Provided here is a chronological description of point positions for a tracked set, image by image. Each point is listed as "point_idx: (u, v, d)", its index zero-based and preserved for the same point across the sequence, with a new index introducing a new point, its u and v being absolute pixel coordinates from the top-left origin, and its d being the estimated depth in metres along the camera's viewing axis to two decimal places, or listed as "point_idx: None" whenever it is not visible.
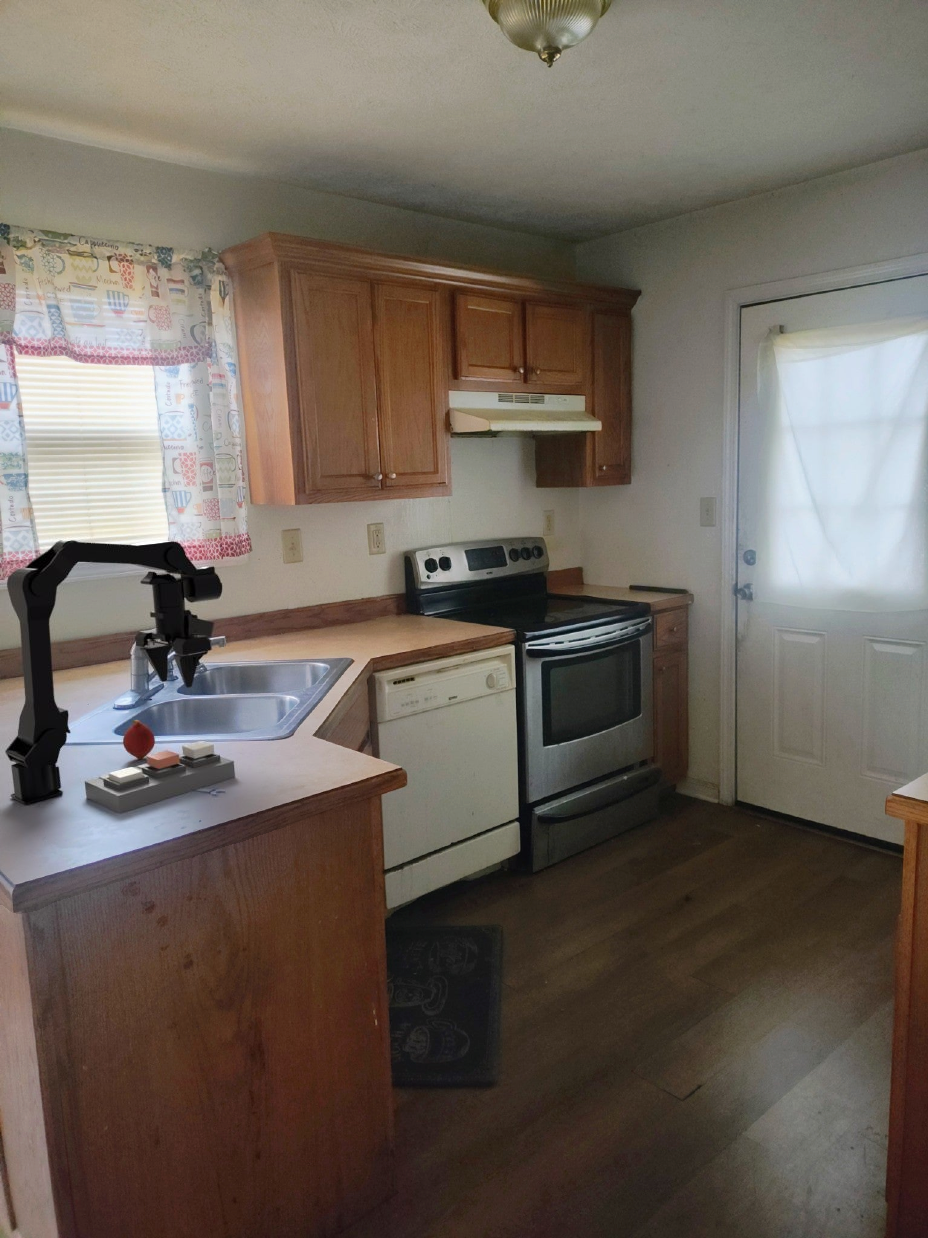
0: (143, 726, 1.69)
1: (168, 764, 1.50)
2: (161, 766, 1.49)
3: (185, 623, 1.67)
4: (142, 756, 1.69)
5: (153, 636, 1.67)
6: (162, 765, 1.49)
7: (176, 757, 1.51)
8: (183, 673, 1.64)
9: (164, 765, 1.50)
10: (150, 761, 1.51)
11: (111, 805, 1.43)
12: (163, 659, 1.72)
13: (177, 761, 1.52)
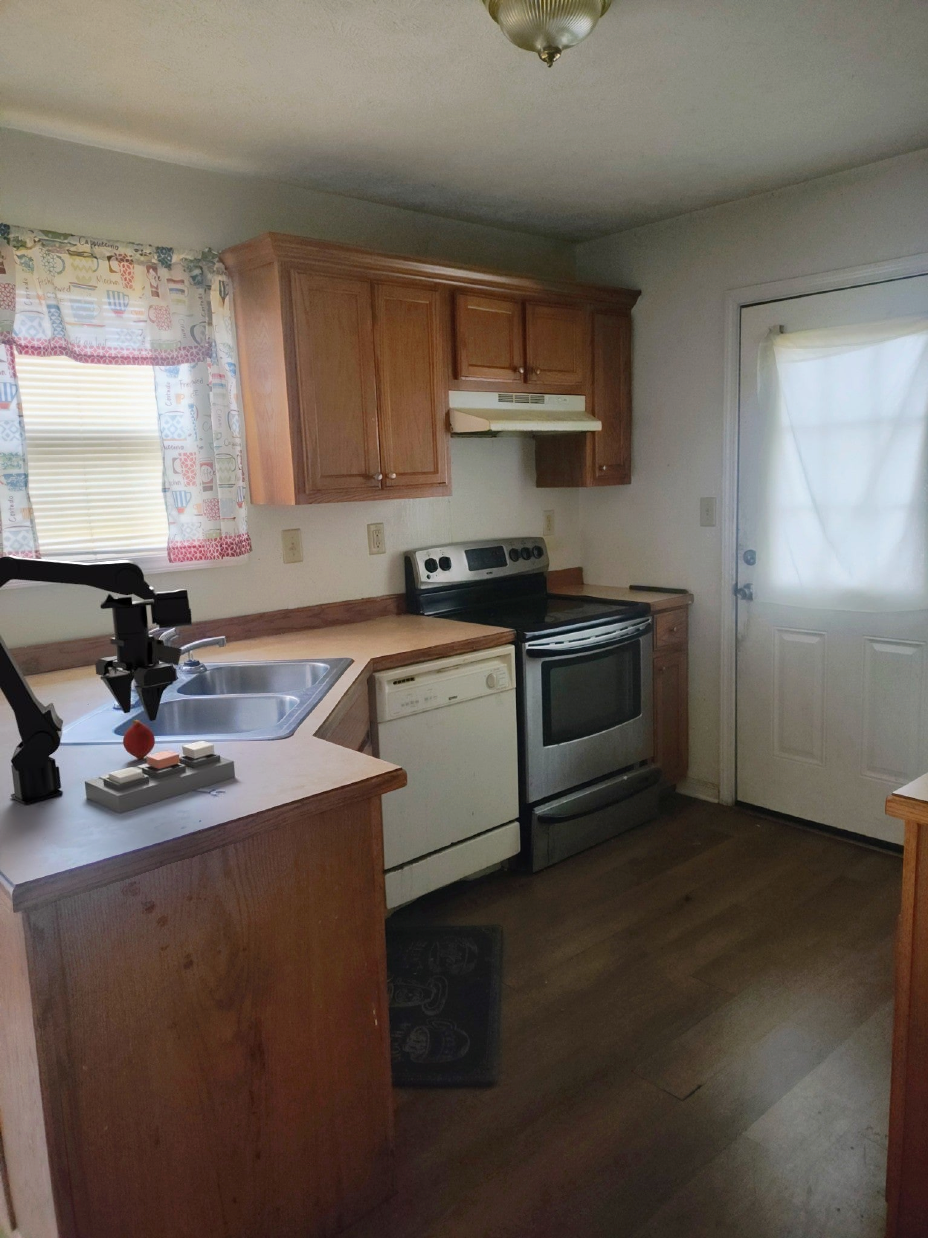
0: (143, 726, 1.69)
1: (168, 764, 1.50)
2: (161, 766, 1.49)
3: (149, 650, 1.53)
4: (142, 756, 1.69)
5: (113, 665, 1.53)
6: (162, 765, 1.49)
7: (176, 757, 1.51)
8: (146, 705, 1.50)
9: (164, 765, 1.50)
10: (150, 761, 1.51)
11: (111, 805, 1.43)
12: (126, 689, 1.58)
13: (177, 761, 1.52)
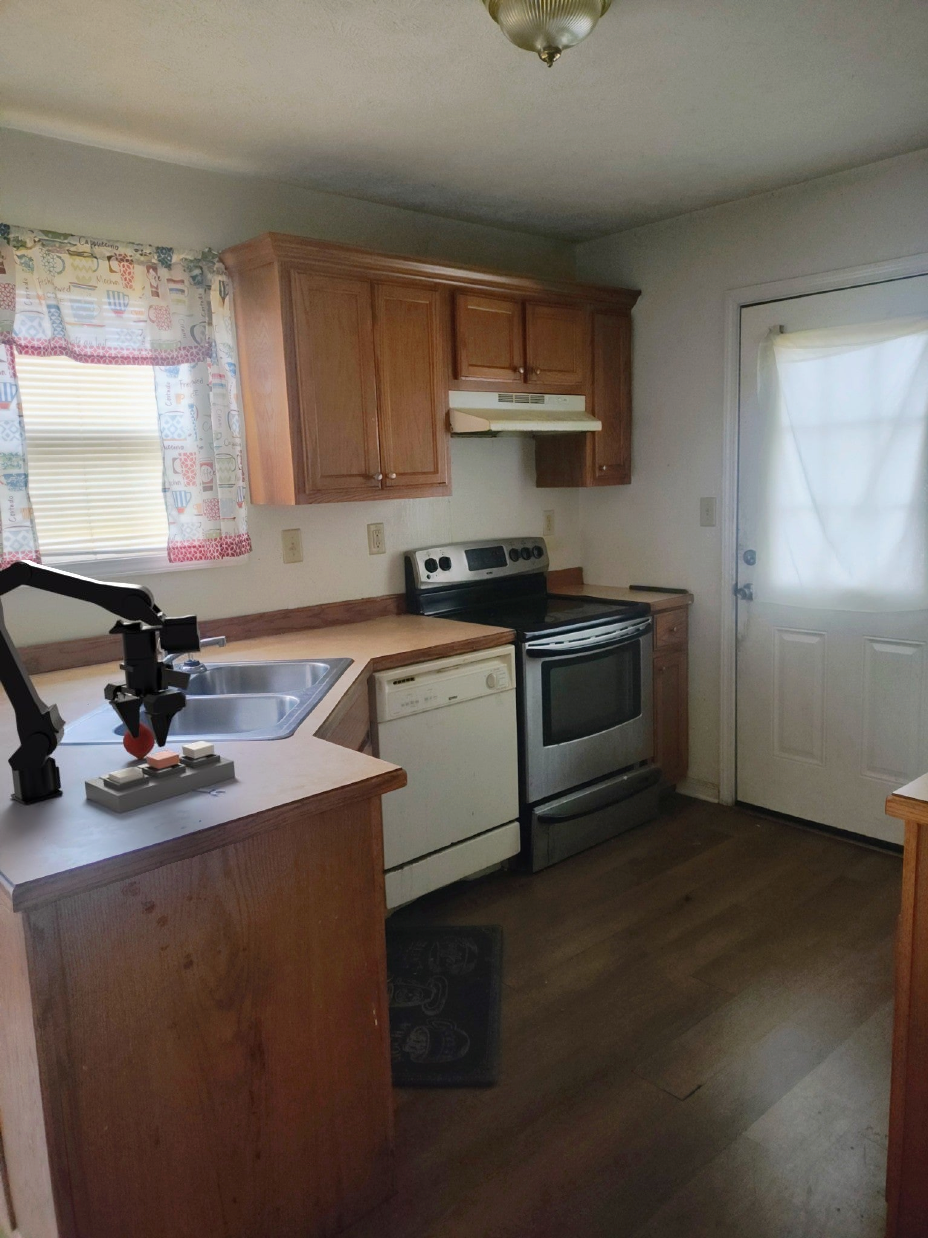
0: (143, 726, 1.69)
1: (168, 764, 1.50)
2: (161, 766, 1.49)
3: (158, 676, 1.52)
4: (142, 756, 1.69)
5: (122, 690, 1.52)
6: (162, 765, 1.49)
7: (176, 757, 1.51)
8: (155, 732, 1.49)
9: (164, 765, 1.50)
10: (150, 761, 1.51)
11: (111, 805, 1.43)
12: (135, 713, 1.57)
13: (177, 761, 1.52)
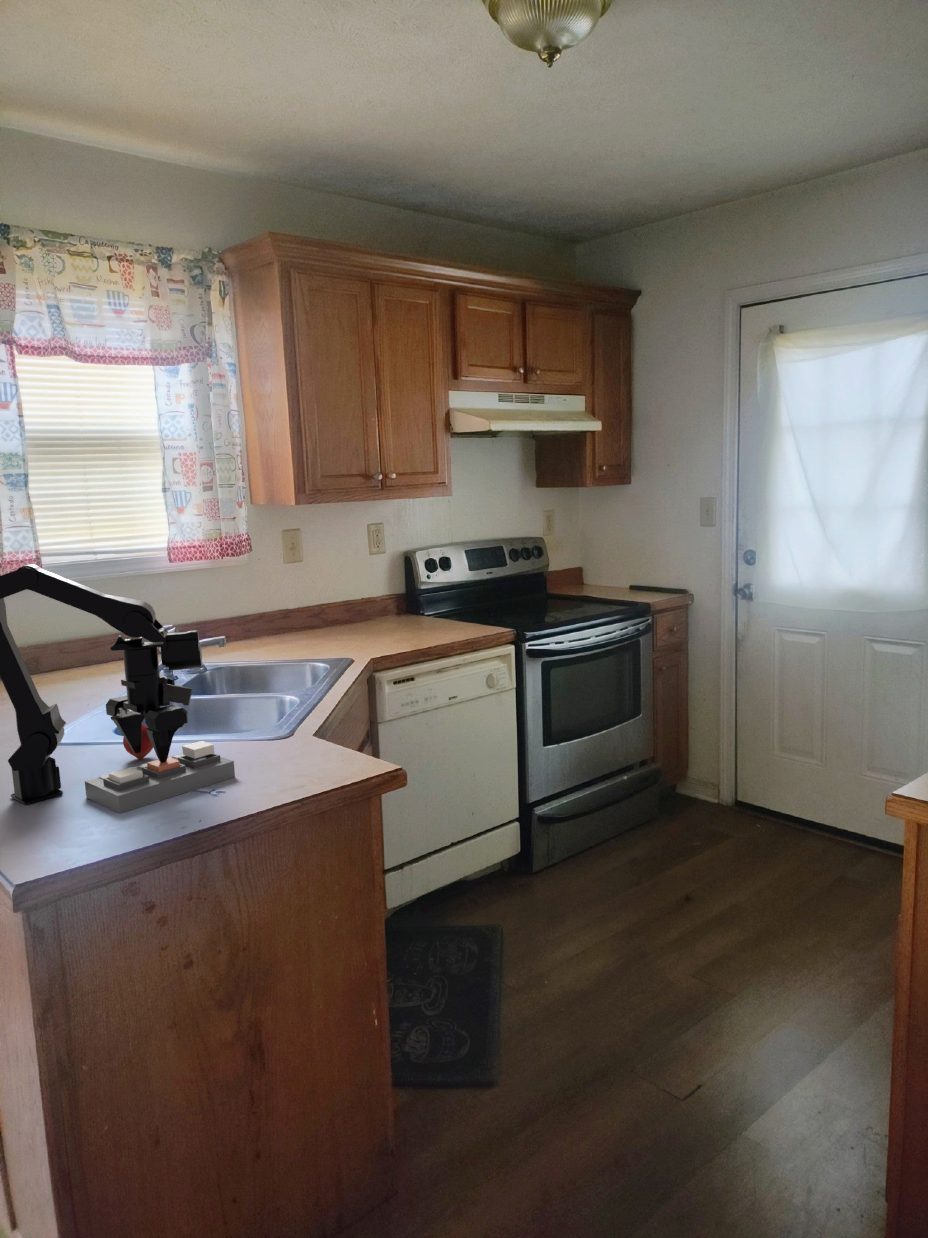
0: (143, 726, 1.69)
1: None
2: None
3: (159, 692, 1.53)
4: (142, 756, 1.69)
5: (124, 706, 1.52)
6: None
7: (176, 764, 1.51)
8: (157, 748, 1.49)
9: None
10: (151, 768, 1.51)
11: (111, 805, 1.43)
12: (136, 729, 1.57)
13: None
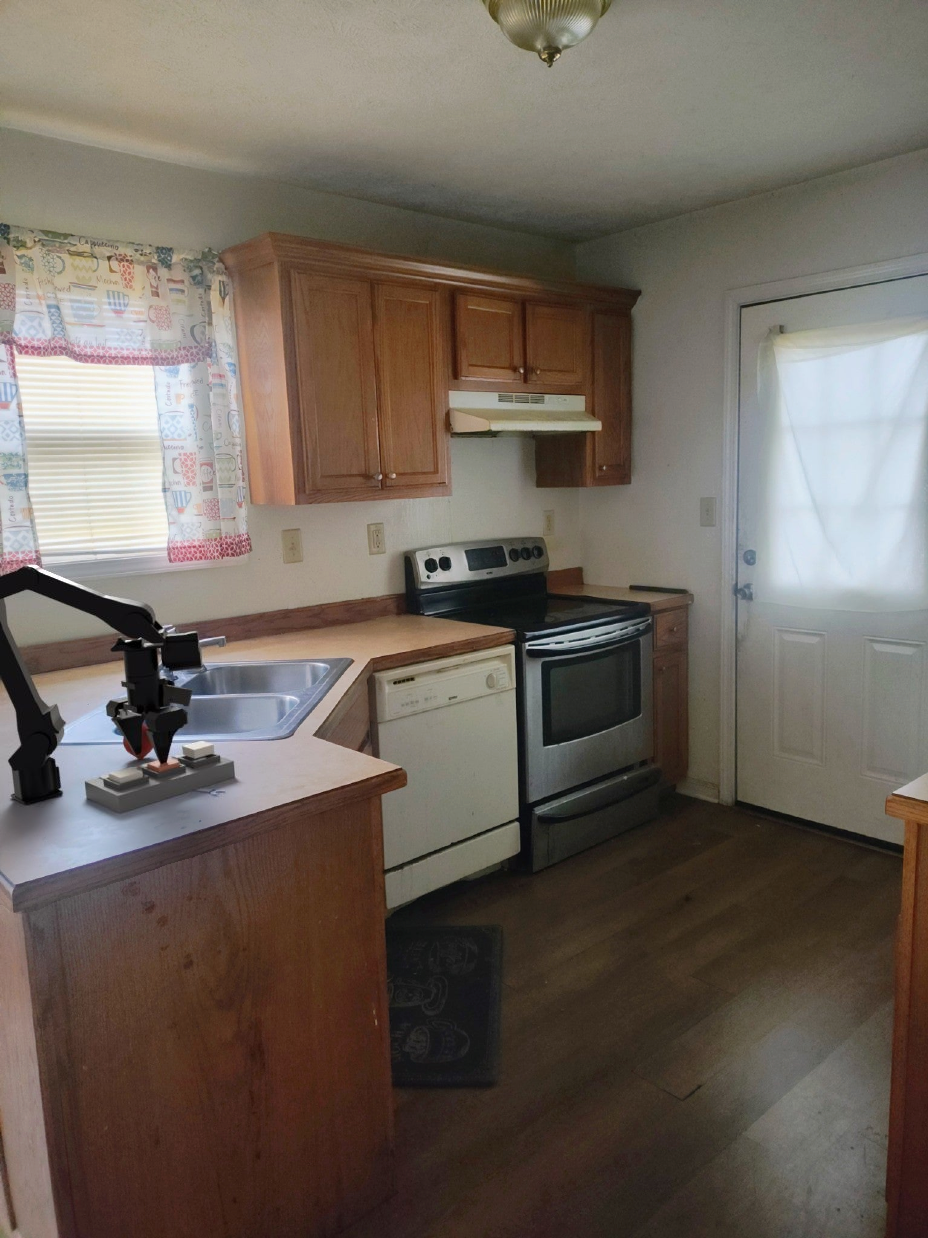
0: (143, 726, 1.69)
1: None
2: None
3: (160, 693, 1.53)
4: (142, 756, 1.69)
5: (124, 708, 1.52)
6: None
7: (176, 765, 1.51)
8: (157, 749, 1.49)
9: None
10: (151, 768, 1.51)
11: (111, 805, 1.43)
12: (137, 730, 1.57)
13: None
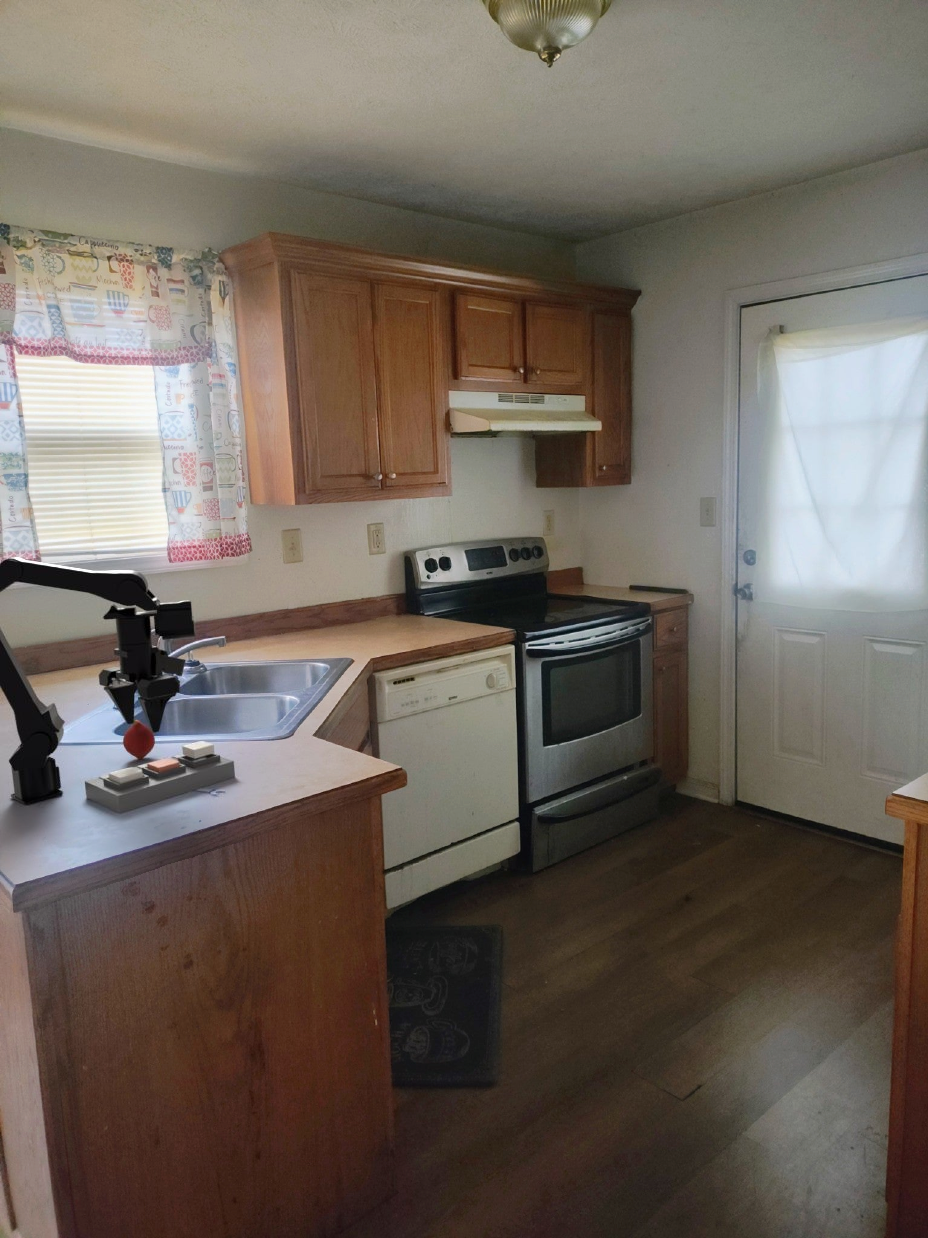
0: (143, 726, 1.69)
1: None
2: None
3: (152, 661, 1.52)
4: (142, 756, 1.69)
5: (117, 676, 1.52)
6: None
7: (176, 765, 1.51)
8: (149, 717, 1.49)
9: None
10: (151, 768, 1.51)
11: (111, 805, 1.43)
12: (129, 699, 1.57)
13: None
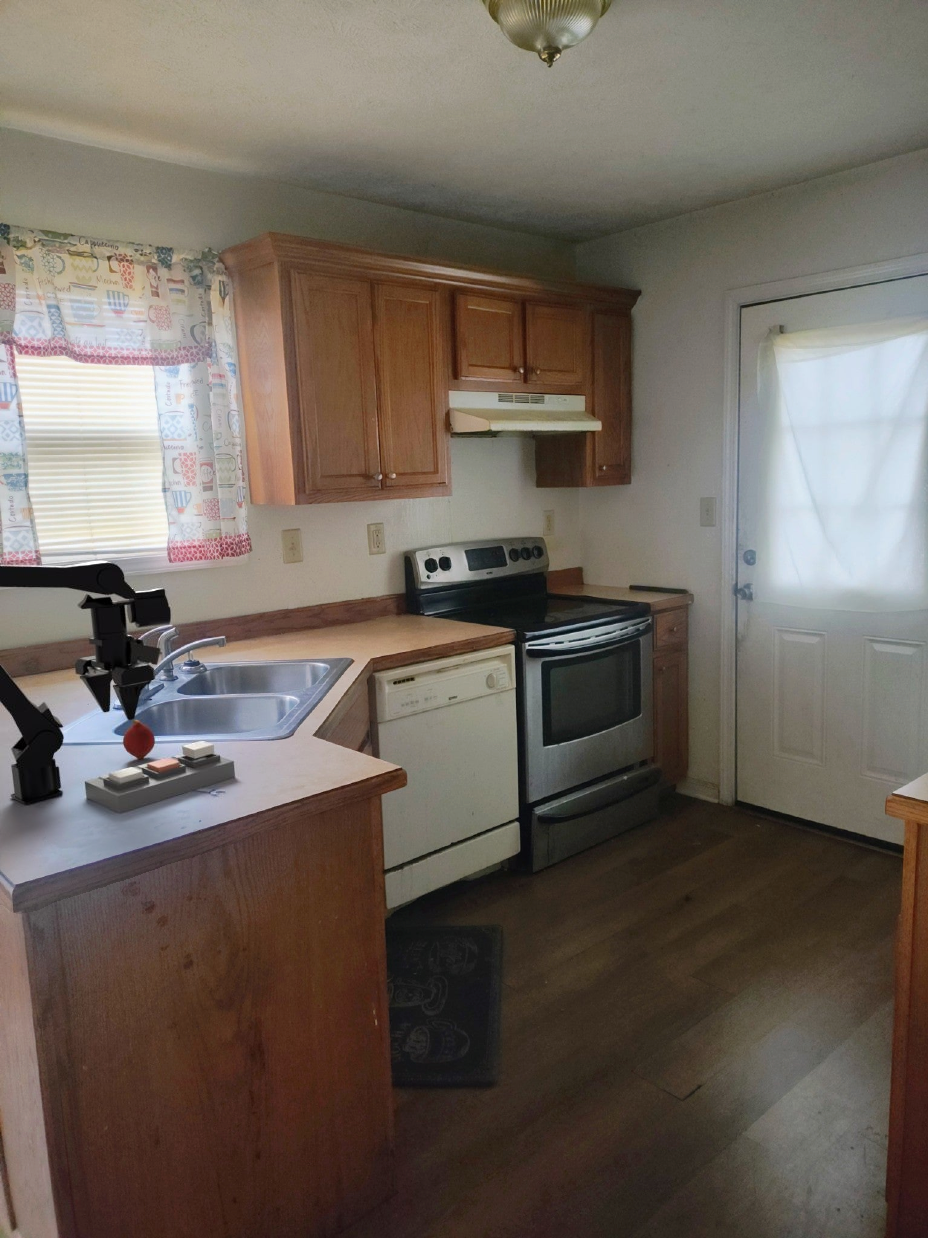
0: (143, 726, 1.69)
1: None
2: None
3: (127, 650, 1.54)
4: (142, 756, 1.69)
5: (92, 664, 1.54)
6: None
7: (176, 765, 1.51)
8: (124, 704, 1.51)
9: None
10: (151, 768, 1.51)
11: (111, 805, 1.43)
12: (105, 688, 1.59)
13: None
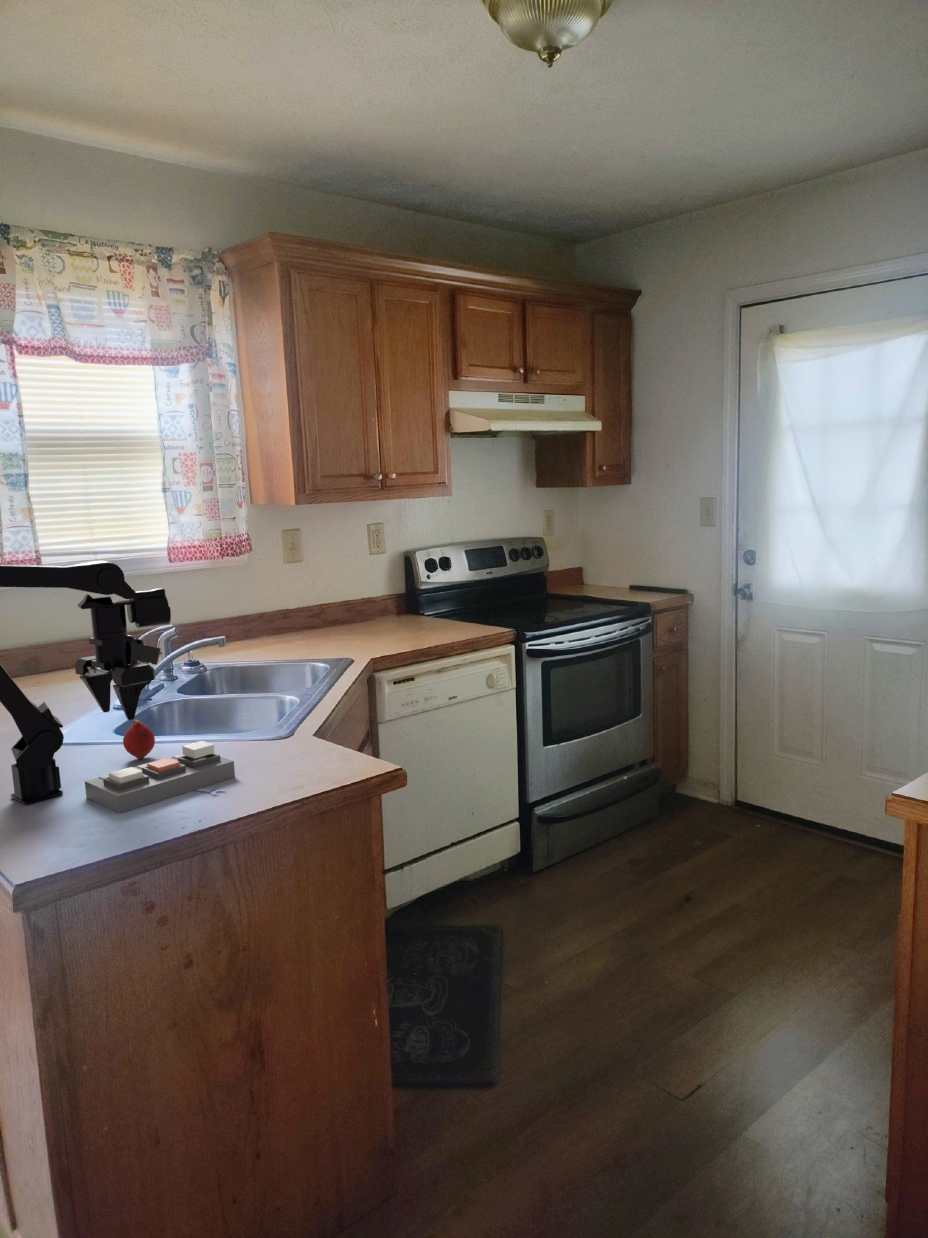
0: (143, 726, 1.69)
1: None
2: None
3: (127, 650, 1.54)
4: (142, 756, 1.69)
5: (92, 664, 1.54)
6: None
7: (176, 765, 1.51)
8: (124, 704, 1.51)
9: None
10: (151, 768, 1.51)
11: (111, 805, 1.43)
12: (105, 688, 1.59)
13: None
